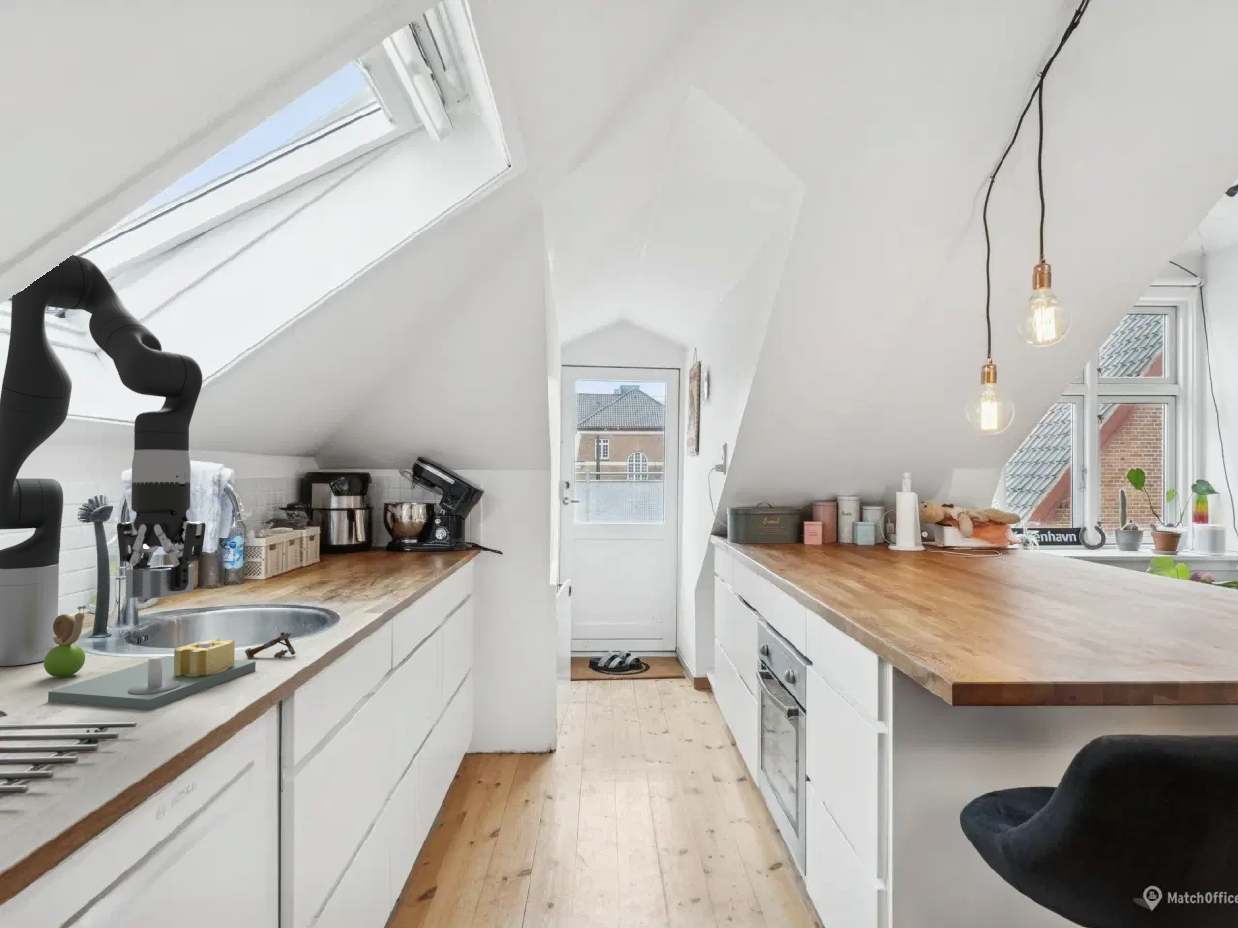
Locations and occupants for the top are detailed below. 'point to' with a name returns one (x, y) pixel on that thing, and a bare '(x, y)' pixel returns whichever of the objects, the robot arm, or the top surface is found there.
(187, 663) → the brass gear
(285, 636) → the brown grey angled piece
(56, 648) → the snail figurine
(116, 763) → the top surface
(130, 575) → the grey hollow block
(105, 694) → the gear board
